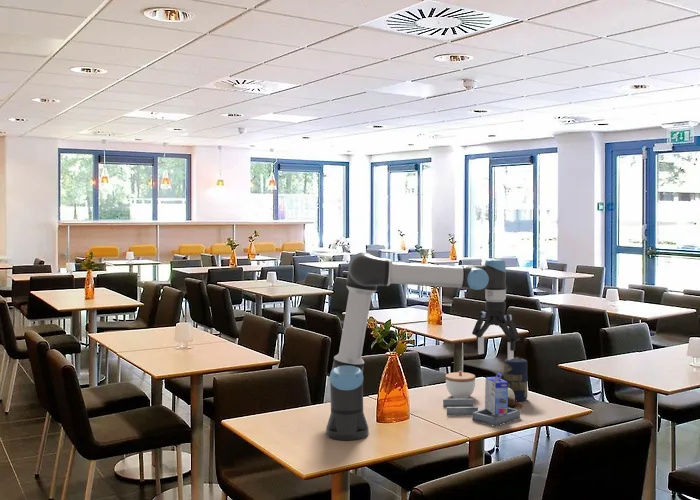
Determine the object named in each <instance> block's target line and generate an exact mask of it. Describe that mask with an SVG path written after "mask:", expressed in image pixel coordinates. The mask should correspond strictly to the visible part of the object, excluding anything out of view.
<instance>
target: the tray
mask: <svg viewBox="0 0 700 500" xmlns="http://www.w3.org/2000/svg"><path fill="white" fill-rule="evenodd" d="M519 419H521V410H520V409H512V408H508V413H507V414H499V415H494V414H493V413H492V412H490V411H489V410H487V409H486V408H485V407H484V408H481V409H478V411H475V412H472V415H471V420H472V421H474V422H478V423H481V424H484V425H489V426H492V425H493V427H496V426H497V427H499V426H501V425H500V424H502V425H504V424H503V423H505V424H507V422H508V423H511V422H513V421H515V420H519ZM510 421H511V422H510ZM498 425H499V426H498Z"/></svg>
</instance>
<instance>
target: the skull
mask: <svg viewBox="0 0 700 500" xmlns="http://www.w3.org/2000/svg"><path fill="white" fill-rule="evenodd" d="M508 408H512V409H517V410H520V409H521V408H523V404H522V403H521V402H520V401H515V395H514V392H513V390H512V389H510V388H508Z"/></svg>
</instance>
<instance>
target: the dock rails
mask: <svg viewBox="0 0 700 500" xmlns="http://www.w3.org/2000/svg"><path fill="white" fill-rule="evenodd" d="M442 402H443V403H442V404H443V405H442V407H444V408H446V416H472V412H475V411H478V410H479V406H474V399H473V398H466V399H457V398H443V399H442Z"/></svg>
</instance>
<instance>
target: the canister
mask: <svg viewBox="0 0 700 500" xmlns="http://www.w3.org/2000/svg"><path fill="white" fill-rule="evenodd" d="M503 362H504V364H503V365H504V366H503V367H504V369H503V380H504V381H506V382H508V388H510V389H512V390H513V392H514V395H515V401H516V402H522V401H526V400H527V399H528V360H527V359H524V358H521V357H518V356H515V357H514V359H511V360H508V358H506V359H504V361H503Z"/></svg>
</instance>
